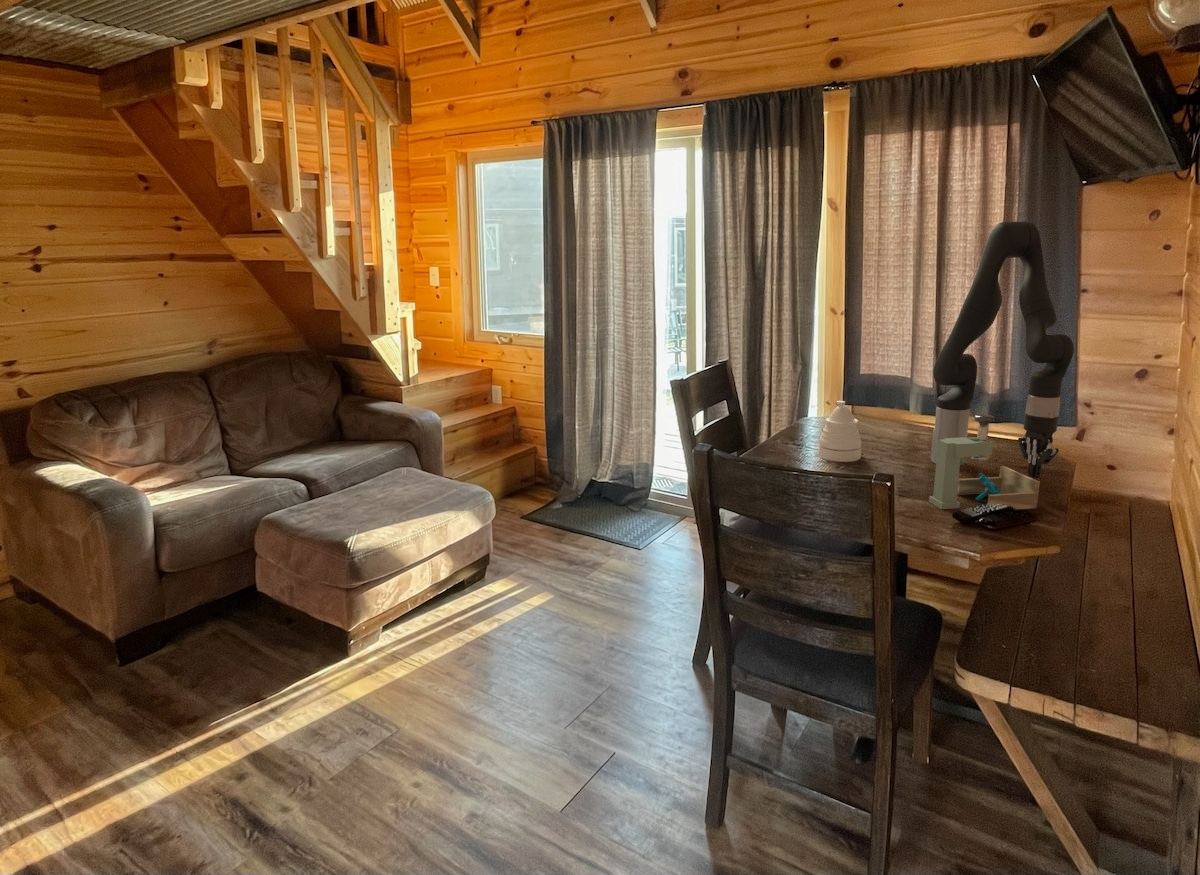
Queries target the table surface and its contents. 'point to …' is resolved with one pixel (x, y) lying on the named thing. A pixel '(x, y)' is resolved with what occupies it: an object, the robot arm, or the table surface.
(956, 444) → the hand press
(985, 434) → the ram
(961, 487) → the tan open box
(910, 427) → the table surface
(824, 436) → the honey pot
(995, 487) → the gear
